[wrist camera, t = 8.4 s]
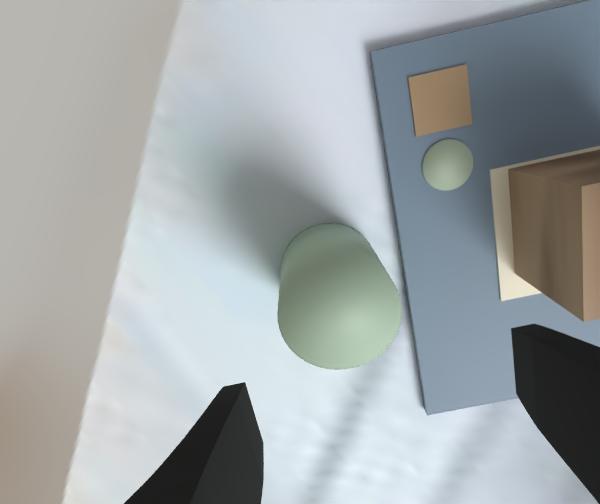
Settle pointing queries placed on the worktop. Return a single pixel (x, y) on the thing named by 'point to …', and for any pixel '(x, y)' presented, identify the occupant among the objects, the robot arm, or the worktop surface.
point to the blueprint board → (481, 183)
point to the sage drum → (336, 298)
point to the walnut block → (559, 230)
